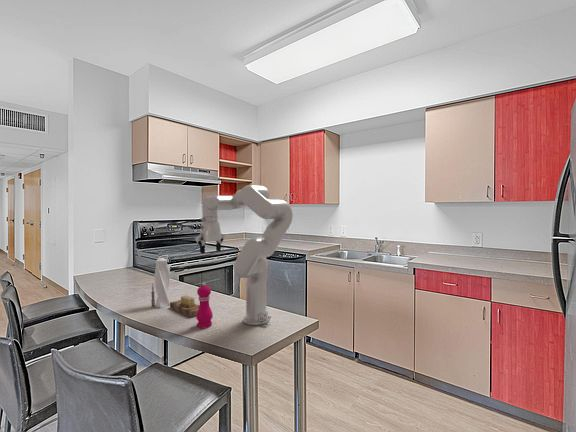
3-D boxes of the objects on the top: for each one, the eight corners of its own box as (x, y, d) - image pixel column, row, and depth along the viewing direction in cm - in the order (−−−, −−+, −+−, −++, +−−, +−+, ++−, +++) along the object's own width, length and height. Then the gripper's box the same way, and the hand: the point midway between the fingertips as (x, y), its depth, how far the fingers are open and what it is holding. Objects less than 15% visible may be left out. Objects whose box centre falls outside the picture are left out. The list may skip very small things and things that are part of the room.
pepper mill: (206, 321, 146) (205, 279, 145) (216, 325, 141) (215, 282, 140) (193, 326, 140) (192, 282, 139) (202, 330, 135) (201, 285, 135)
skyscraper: (164, 302, 174) (162, 253, 173) (173, 305, 170) (172, 255, 169) (150, 307, 167) (149, 256, 166) (160, 309, 163) (159, 257, 162)
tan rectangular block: (194, 310, 159) (194, 298, 159) (189, 312, 157) (189, 299, 156) (186, 307, 164) (186, 295, 164) (181, 309, 162) (180, 296, 162)
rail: (205, 313, 156) (205, 307, 156) (191, 318, 150) (191, 312, 150) (183, 304, 171) (183, 299, 171) (170, 308, 165) (169, 302, 165)
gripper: (199, 220, 152) (200, 255, 153) (227, 219, 165) (228, 250, 166) (191, 220, 157) (192, 253, 158) (219, 218, 170) (220, 249, 171)
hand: (210, 252), depth 162 cm, fingers open, 9 cm apart
